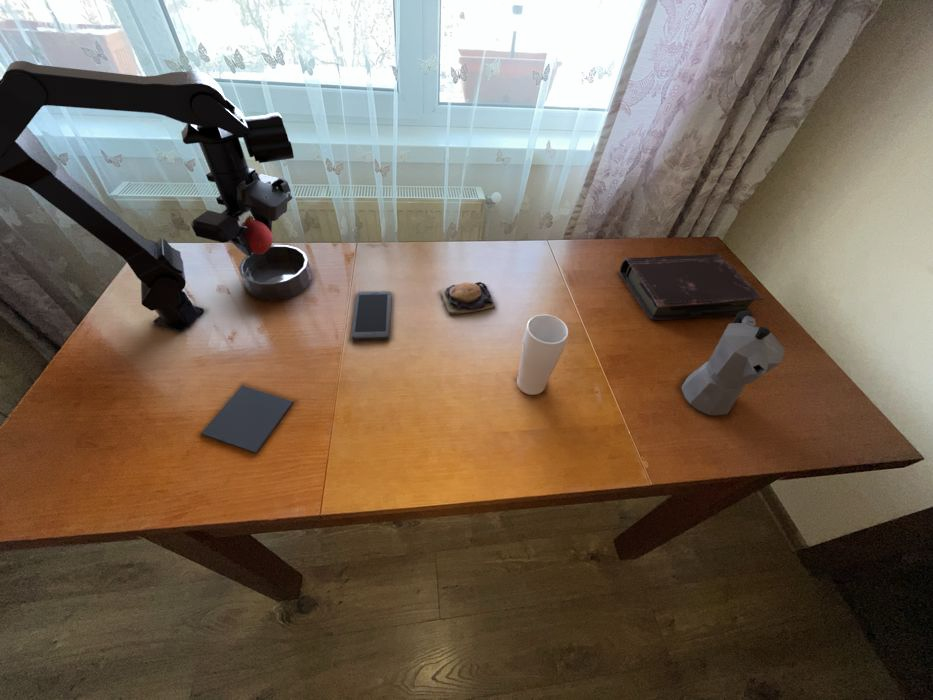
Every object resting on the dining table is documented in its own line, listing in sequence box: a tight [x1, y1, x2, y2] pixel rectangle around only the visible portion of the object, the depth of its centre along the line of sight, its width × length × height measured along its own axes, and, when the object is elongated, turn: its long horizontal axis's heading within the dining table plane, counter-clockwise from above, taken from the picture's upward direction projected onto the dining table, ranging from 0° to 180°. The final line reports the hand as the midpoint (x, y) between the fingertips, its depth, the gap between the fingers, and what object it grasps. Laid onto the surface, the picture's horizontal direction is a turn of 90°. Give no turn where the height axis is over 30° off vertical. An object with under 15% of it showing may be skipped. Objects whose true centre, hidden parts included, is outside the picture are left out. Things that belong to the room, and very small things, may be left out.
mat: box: [200, 384, 294, 454], centre depth 66 cm, size 10×10×1 cm
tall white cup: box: [516, 313, 569, 396], centre depth 69 cm, size 7×7×15 cm
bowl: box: [238, 244, 313, 302], centre depth 87 cm, size 14×14×4 cm
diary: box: [618, 253, 764, 321], centre depth 93 cm, size 19×25×5 cm
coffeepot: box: [680, 309, 786, 417], centre depth 69 cm, size 15×9×18 cm, turn 162°
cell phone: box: [351, 290, 392, 341], centre depth 83 cm, size 7×14×1 cm, turn 5°
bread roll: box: [440, 281, 495, 315], centre depth 87 cm, size 11×8×4 cm
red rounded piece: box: [241, 214, 274, 254], centre depth 76 cm, size 6×6×8 cm
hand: (258, 246), depth 77 cm, fingers closed on red rounded piece, 6 cm apart
